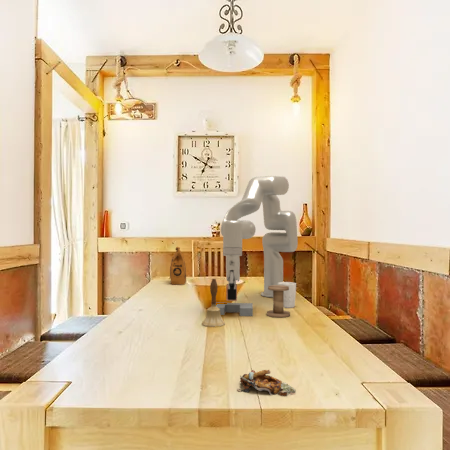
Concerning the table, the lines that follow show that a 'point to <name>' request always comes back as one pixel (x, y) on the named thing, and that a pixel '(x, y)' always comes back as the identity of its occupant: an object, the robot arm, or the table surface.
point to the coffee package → (178, 268)
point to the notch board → (236, 308)
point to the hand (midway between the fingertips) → (232, 298)
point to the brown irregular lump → (265, 383)
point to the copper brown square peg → (227, 293)
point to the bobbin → (278, 302)
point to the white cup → (289, 294)
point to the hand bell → (213, 309)
